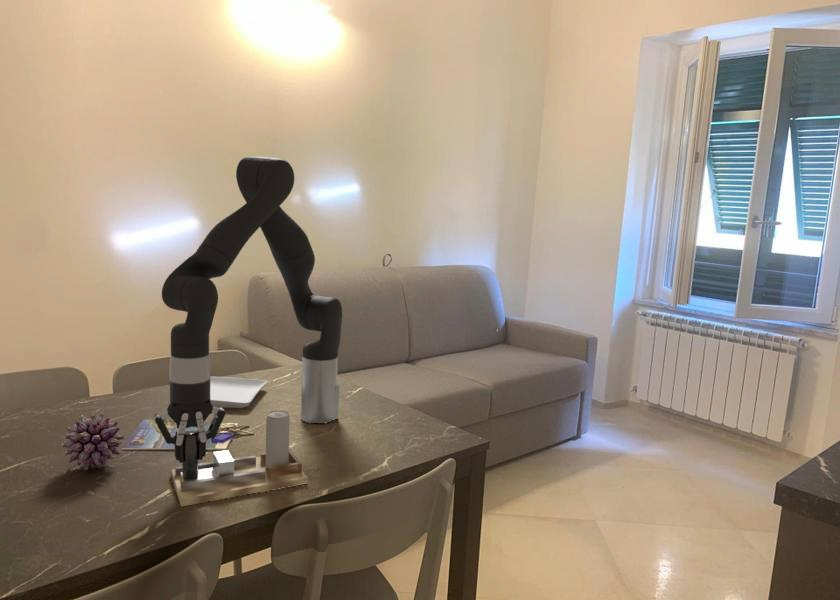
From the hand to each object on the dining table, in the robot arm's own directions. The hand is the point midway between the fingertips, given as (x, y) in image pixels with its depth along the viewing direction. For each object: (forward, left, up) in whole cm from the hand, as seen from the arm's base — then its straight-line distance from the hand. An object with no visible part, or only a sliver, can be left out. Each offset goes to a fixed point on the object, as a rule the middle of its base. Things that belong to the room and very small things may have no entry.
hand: (190, 459), depth 128 cm
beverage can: (-18, 0, -5) cm, 18 cm away
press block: (-3, 0, -4) cm, 5 cm away
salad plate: (-17, -54, -7) cm, 57 cm away
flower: (+17, -17, -6) cm, 25 cm away
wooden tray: (-10, 0, -6) cm, 11 cm away
